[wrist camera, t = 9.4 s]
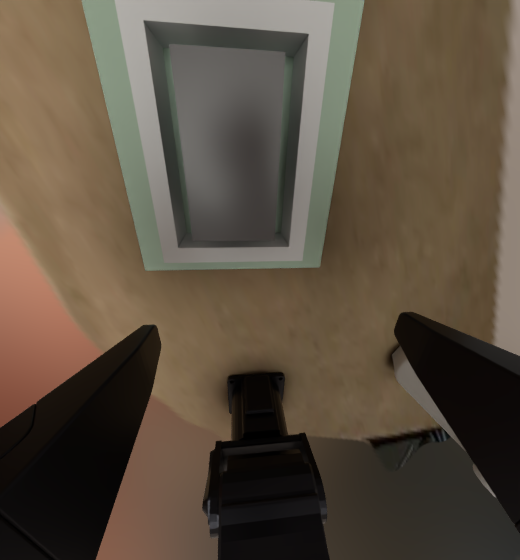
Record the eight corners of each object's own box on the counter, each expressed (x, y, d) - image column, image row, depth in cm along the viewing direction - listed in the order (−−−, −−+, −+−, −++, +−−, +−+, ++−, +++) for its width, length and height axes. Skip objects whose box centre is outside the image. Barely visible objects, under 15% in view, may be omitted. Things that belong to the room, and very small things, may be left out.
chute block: (262, 212, 17) (274, 240, 12) (205, 212, 17) (192, 241, 11) (265, 89, 14) (285, 51, 8) (194, 85, 13) (168, 43, 8)
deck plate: (316, 262, 20) (332, 285, 17) (149, 265, 19) (130, 290, 16) (358, -6, 13) (405, -65, 9) (82, -34, 11) (15, -116, 8)
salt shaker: (439, 352, 28) (578, 489, 17) (396, 376, 30) (497, 517, 18) (422, 326, 26) (571, 466, 14) (376, 353, 27) (478, 500, 16)
